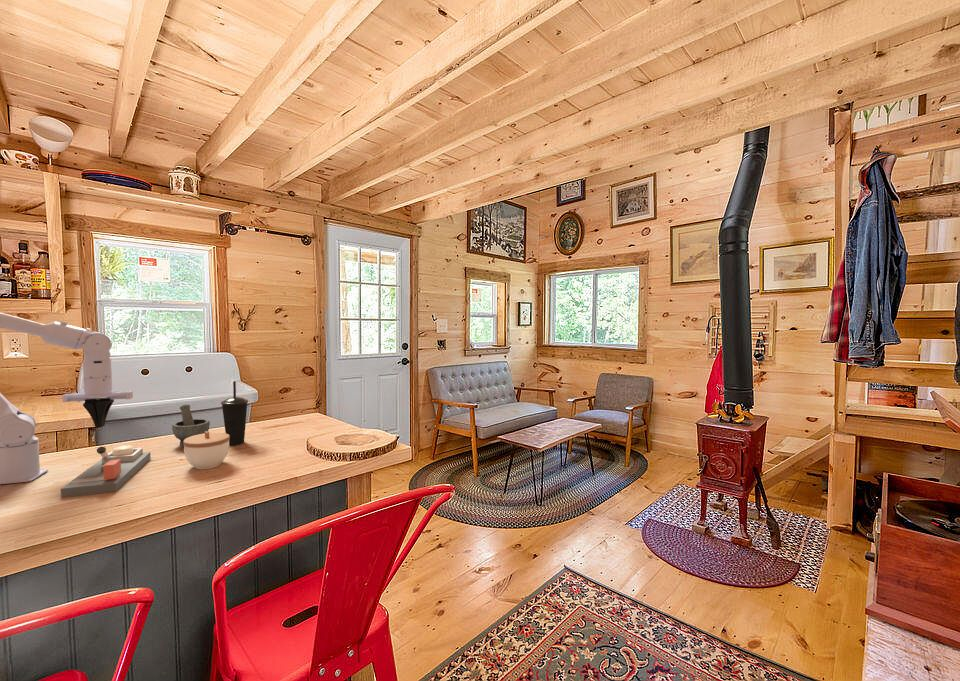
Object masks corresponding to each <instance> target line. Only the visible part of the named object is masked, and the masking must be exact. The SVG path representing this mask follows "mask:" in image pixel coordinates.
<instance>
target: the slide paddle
mask: <svg viewBox="0 0 960 681" xmlns="http://www.w3.org/2000/svg"><path fill="white" fill-rule="evenodd" d="M103 472H104V480H107V479H115V478H116V477H117V476H118V475H119V474H120V473H121V459H118V460H110V461H109V462H107V463H106V464H105V465H103Z"/></svg>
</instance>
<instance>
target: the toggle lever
mask: <svg viewBox="0 0 960 681" xmlns="http://www.w3.org/2000/svg"><path fill="white" fill-rule="evenodd" d="M96 453H97V454H99V455H100V456H101V459H102V458H103V459H104V461H107V460H109V459H111V458H110V457H109V455H108V452H107V448H106V447H105V446H99V447H97V449H96Z"/></svg>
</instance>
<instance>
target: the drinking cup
mask: <svg viewBox="0 0 960 681" xmlns="http://www.w3.org/2000/svg"><path fill="white" fill-rule="evenodd" d="M236 382H237V381H236V380H233V382H232V384H233V386H232V387H233V391H232V392H233V393H232V394H233V397H228V398H226V399H224V400H222V401H220V404H221V407H222V415H223V424H224V433H226V434H229V435H230V439H229V446H240V445H242V444H244V443H245V436H246V425H247V424H246V423H247V422H246V421H247V412H248V403H249V400H248V399H247V398H244V397H239V396H237V386H236V384H237V383H236Z"/></svg>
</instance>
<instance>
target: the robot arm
mask: <svg viewBox="0 0 960 681" xmlns="http://www.w3.org/2000/svg"><path fill="white" fill-rule="evenodd" d="M0 329H5V330H9V331H14V332H19V333H20V332H21V333H24V334H30V335H33V336H39V337H40V338H41V339H42V341H43V342H44V343H46V344H50V345H54V346H58V347H63V348H65V349H67V348H68V349H71V350H74V351H77V350H81V349H82V350H83V360H82V374H83V392H76V393H65V394H62V396H61V399H62V403H69V402H83V403H82V406H83V407H84V409H85V410H86V411H87V413H88V414H89V415H90V418H91V419H92V422H93V425H94V427H95V428H103V427H105V426H106V419H107V416H108V413H109V411H110V409H111V407H112V405H113V403H114V402H115V400H131V399H133V398H134V395H133V394H134V393H133V390H113V379H112V376H113V375H112V374H113V373H112V359H111V352H110V350H111V349H112V345H113V343H112V341H111V339H110V337H109V336H107V335H106V334H104V333H102V332H99V331H95V330H94V331H92V328H89V327H86V328H81V327H78V326H74V325H70V324H68V322H67V321H64V320H61V321H60V322H59V321H51V322H49V323H40V322H38V321H33V320H29V319H26V318H22V317H19V316H14V315H11V314H8V313H5V312H4V313H3V312H0ZM35 432H36V419H35V418H34V417H33V416H32V415H30V414H29V413H26V412H22V411H21V410H20V409H19V408H18V407H17V406H16V405H14V404H12V403H11V402H10V401H9V400H8V399H7V398H6V397H5V395H3V393H2V392H0V485H6V484H18V483H19V484H20V483H29V482H32V481H34V480H36V479H37V478H39V477H41V476H42V475H44V474H45V473H47V472H48V471H49V469H48V468H42V469H41V468H40V446H39V445H40V444H39V437H37V436H35V434H36V433H35Z"/></svg>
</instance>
